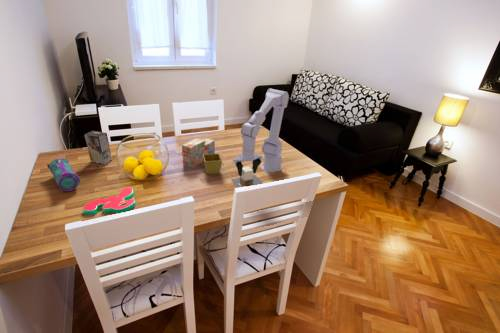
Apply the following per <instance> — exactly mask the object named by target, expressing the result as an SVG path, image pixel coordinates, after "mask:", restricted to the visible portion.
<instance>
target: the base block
mask: <svg viewBox="0 0 500 333" xmlns="http://www.w3.org/2000/svg"><path fill="white" fill-rule="evenodd" d="M239 178H240V185H241V186H242V187H243V186H250V185H253V181H254V180H253V179H251V180H246V181H244V180H243V179H242V178H241V177H240V176H239Z"/></svg>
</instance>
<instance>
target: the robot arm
mask: <svg viewBox="0 0 500 333" xmlns="http://www.w3.org/2000/svg"><path fill="white" fill-rule="evenodd" d="M289 96H290V95H289V93H288V91H284V90H279V89H273V88H272V87H271V88H268V89H267V91H266V93H265V100H264V102H263V103H262V104H261V106H260V108H259V110H256V111H255V112H254V113H253V114H252V115H251V117H250V118H249V119H248V121H247V122H245V123H243V124H242V126H241V129H240V134H241V139H242V151H241V152H242V153H241V155H239V156H237V157H235V158H233V159H232V161H233V163H234V165H235V167H236V170H237V172H238V173H237V174H238V176H239V177H240V176H242V168H243V167H244V164H243V162H252V168H251V169H252V170H253V174H256V172H257V170H258V168H259V166H260V168H261V169H262V170H263V171H264V173H265V174H270V173H276V172H281V171H282V169H281V168H282V162H283V160H282V151H283V143H282V141H281V140H280V139H279V135H280V131H281V125H282V120H283V118H284V117H283V116H284V111H285V108H287V107H288V104H289V98H290V97H289ZM272 108H273V112H272V118H271V122H270V130H269V134H268V137H267V138H264V140H263V143H262V145H261V152H262V154H261V153H255V151H256V150H255V149H256V137H257V136H258V135H259V132H260V129H261V126H262V124H263V123H264V122H265V120H266V115H267V113H269V111H270V110H271V109H272ZM263 155H264V156H263ZM262 159H263V165H261V163H262Z"/></svg>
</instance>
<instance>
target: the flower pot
mask: <svg viewBox="0 0 500 333" xmlns="http://www.w3.org/2000/svg"><path fill="white" fill-rule="evenodd" d="M203 159H204V161H203V164H204V167H205V171H206V173H207V175H218V174H219V172H221V168H222V163H223V162H222V157H221V155H220V153H219V152H218V153H215V154H204V155H203Z"/></svg>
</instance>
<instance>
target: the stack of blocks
mask: <svg viewBox="0 0 500 333" xmlns="http://www.w3.org/2000/svg"><path fill="white" fill-rule="evenodd" d="M215 144H216V143H215V139H210V138H208V137H207V138H203V139H201V138H197V137H196V138H194V139H192V140H190V141H188V142H186V143H183V144H182V145H181V148H182V151H181V154H182V165H183V166H185V167H189V168H194V167H196V166H197V165H199V164H201V163H202V162H203V163H204V159H203V155H204V154H216V152H215V150H216V149H215V148H216V147H215V146H216V145H215Z"/></svg>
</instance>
